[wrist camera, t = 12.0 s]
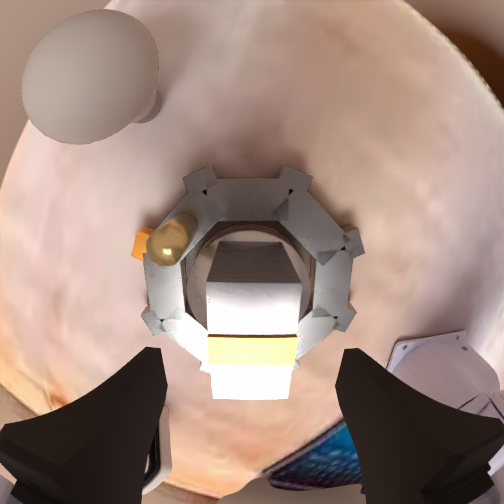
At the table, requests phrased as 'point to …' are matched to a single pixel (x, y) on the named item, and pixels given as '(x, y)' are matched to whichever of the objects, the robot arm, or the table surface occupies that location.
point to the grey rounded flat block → (158, 455)
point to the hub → (239, 233)
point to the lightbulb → (92, 77)
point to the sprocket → (247, 209)
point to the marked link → (252, 320)
